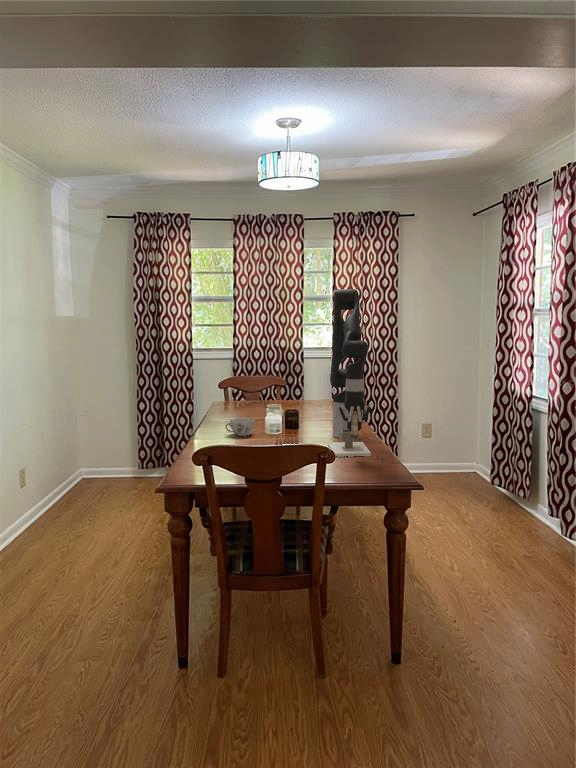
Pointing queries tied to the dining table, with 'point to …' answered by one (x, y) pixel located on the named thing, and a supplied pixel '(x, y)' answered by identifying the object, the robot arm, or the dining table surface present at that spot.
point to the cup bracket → (348, 446)
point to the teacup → (241, 426)
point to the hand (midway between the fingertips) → (354, 430)
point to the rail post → (354, 426)
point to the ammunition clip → (287, 441)
